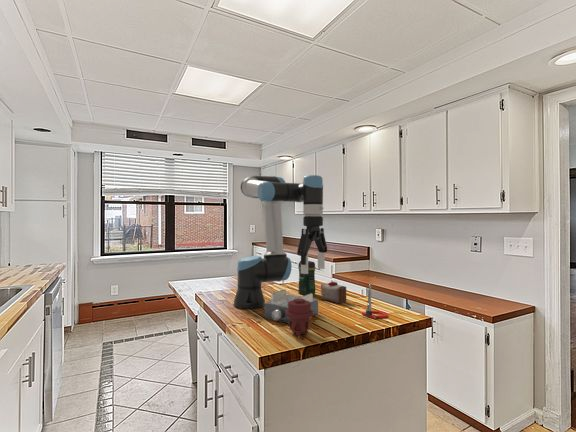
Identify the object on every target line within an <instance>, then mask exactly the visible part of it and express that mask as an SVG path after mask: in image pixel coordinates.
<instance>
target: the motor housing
mask: <svg viewBox="0 0 576 432" xmlns="http://www.w3.org/2000/svg"><path fill="white" fill-rule="evenodd" d="M270 295H271V297H270V299H271V300H268V301H265V305H264V318H265V319H268V320H272V321H273V320H274V321H275V322H278V321H279V322H283V323H286V324H290V318H289V317H287V316H286V310H287V309H288V302H289V301H292V300H294V299H297V298H301V299H304V300H307V301H309V302H310V303H311V310H312V311H313V316H312V317H310V318H309V319H312V318H313V317H314V316H317V315H319V299H317V298H314V294H308V295H303V296H300V295H295V294H287V289H281V290H278V291H275V292H272V293H270Z"/></svg>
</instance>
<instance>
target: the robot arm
mask: <svg viewBox="0 0 576 432" xmlns="http://www.w3.org/2000/svg"><path fill="white" fill-rule="evenodd" d="M302 181H303V182H302V183H300V182H299V183H297V182H286V181H285V179H284V178H283V177H282V176H281V177H280V176H275V175H274V176H272V175H271V176H270V175H269V176H267V175H251V176H247V177H246V178H244V179H243V180H242V181H241V183H240V191H241V193H242V195H244V196H246V197H247V198H251V199H259V201H261V204H262V205H263V206H264V223H265V224H264V225H265V246H266V252H265V253H264V254H263V258H262V256H261V255H251V256H246V257H242V258H240V259H239V260H238V262H237V266H236V267H237V270H236V271H237V289H236V294H235V297H234V299H233V306H234V307H235V308H238V309H242V310H243V309H245V310H249V309H250V310H251V309H252V310H253V309H258V308H262V307H265V303H266V300H265V299H266V298H265V297H264V293H263V289H262V283H270V282H271V283H272V282H283V281H284V282H285V281H287V280H288V279H289V278H290V276H291V273H292V267H293V266H292V260H291V258H290V257H288V255H287V253H286V252H285V251H284V237H283V222H282V221H283V220H282V204H283V203H284V202H294V203H303V204H302V205H303V206H302V207H303V209H302V210H303V211H302V213H303V215H304V216H303V217H302V218H303V220H302V221H303V224H302V225H303V226H304V227H306V228H302V229H301V235H300V239H299V243H298V247H297V252H296V254H297V256H300V261H301V273H302V274H308V261H309V255H308V253H309V250H310V247H311V245H312V242H314V243H315V245H316V248H317V250H318V252H317V270H319V269H320V270H325V266H326V264H325V260H326V259H325V253H327V252H328V245H327V240H326V238H325V237H326V236H325V230H324V229H325V228H324V227H322V226H323V225H324V217H323V215H324V214H323V213H324V207H323V206H324V203H323V202H324V183H323V177H322V176H321V175H315V174H310V175H305V176H304V177H303V180H302Z"/></svg>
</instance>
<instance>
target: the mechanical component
mask: <svg viewBox="0 0 576 432" xmlns="http://www.w3.org/2000/svg"><path fill="white" fill-rule="evenodd" d="M286 316H287V317H289V318H290V323H289V329H290V331H291V332H293V333H295V335H296V336H297V337H300V336H301V335H303V334H307V333H308V332H309V329H310V324H309V323H310V321H309V320H310V319H311V318H313V317H314V316H313V311H312V310H311V303H310V302H309V301H307V300H304V299H301V298H297V299H294V300H292V301H289V302H288V309H287V310H286ZM312 316H313V317H312ZM310 317H311V318H310Z"/></svg>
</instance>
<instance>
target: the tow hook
mask: <svg viewBox="0 0 576 432" xmlns="http://www.w3.org/2000/svg"><path fill="white" fill-rule="evenodd" d="M367 294H368V295H367V304H366V305H367V306H366V310H365V311H362V312H361V315H362V316H365V317H366V316H367V318H369V319H372V318H373V320H376V319H386V318H387V316H388V314H387V313H386V312H384V311H382V310H381V311H380V310H372V284H368V292H367Z"/></svg>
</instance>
